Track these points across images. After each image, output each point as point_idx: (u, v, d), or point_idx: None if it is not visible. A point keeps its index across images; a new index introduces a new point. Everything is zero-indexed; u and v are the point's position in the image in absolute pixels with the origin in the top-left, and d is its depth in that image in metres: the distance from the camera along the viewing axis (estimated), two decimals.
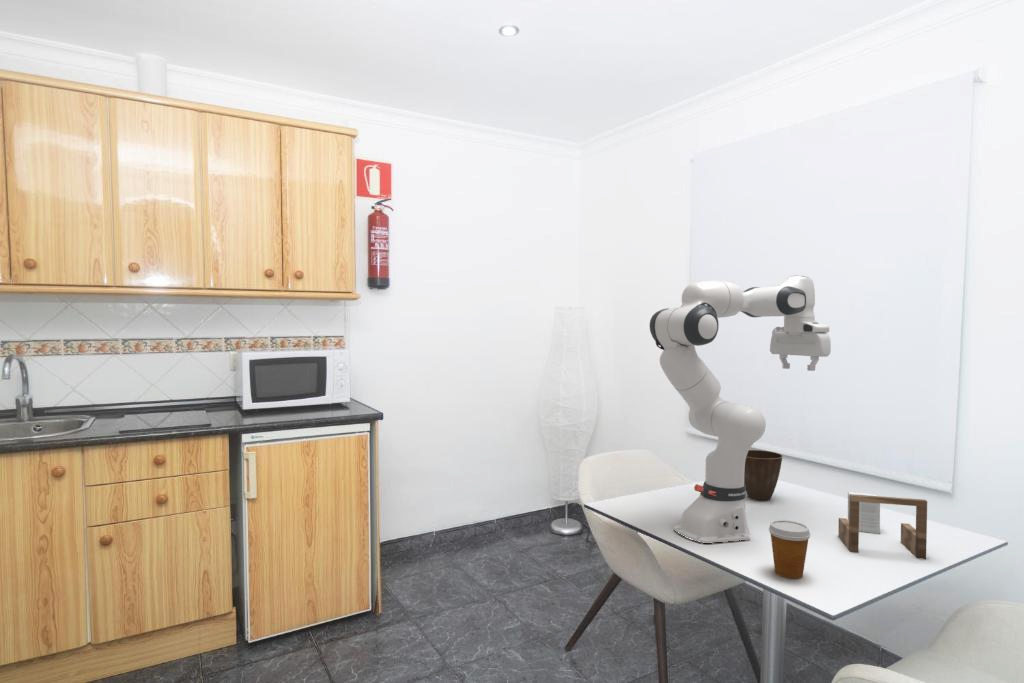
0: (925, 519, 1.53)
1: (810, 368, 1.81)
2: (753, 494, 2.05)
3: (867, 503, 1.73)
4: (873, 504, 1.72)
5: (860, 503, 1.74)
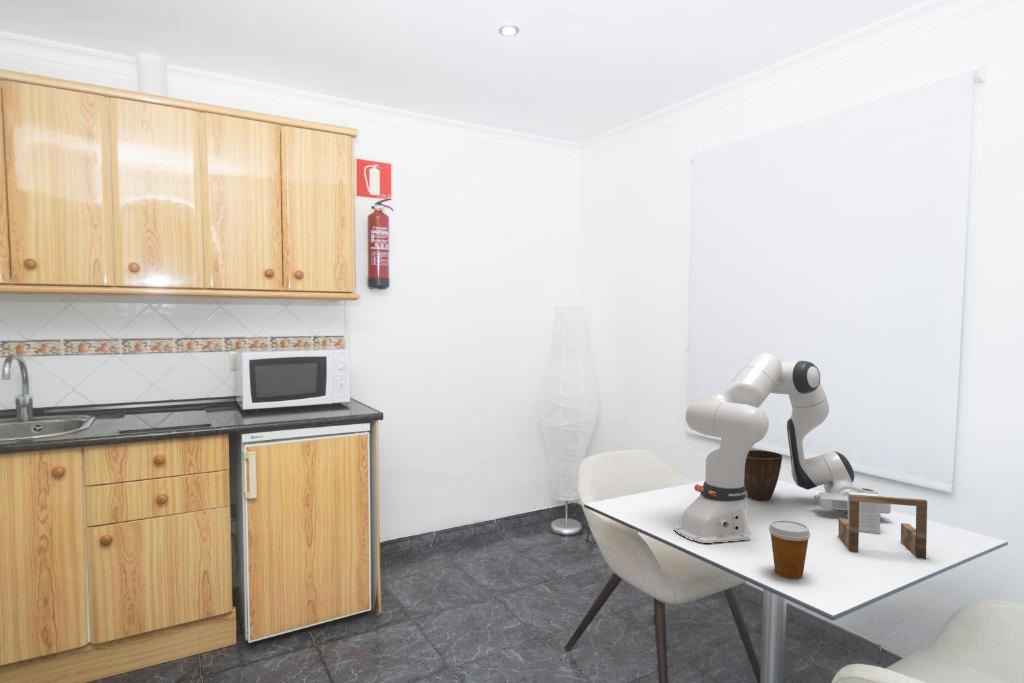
0: (925, 519, 1.53)
1: None
2: (753, 494, 2.05)
3: (867, 503, 1.73)
4: (873, 504, 1.72)
5: (860, 503, 1.74)
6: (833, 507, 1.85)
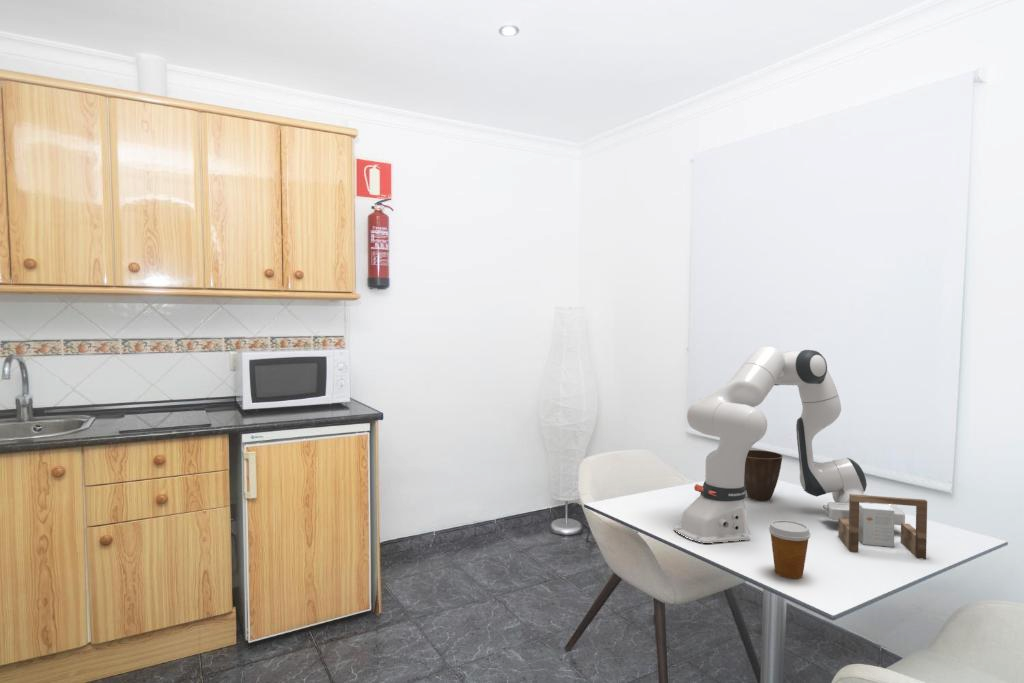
0: (925, 519, 1.53)
1: None
2: (753, 494, 2.05)
3: (881, 515, 1.62)
4: (887, 516, 1.62)
5: (874, 515, 1.63)
6: None
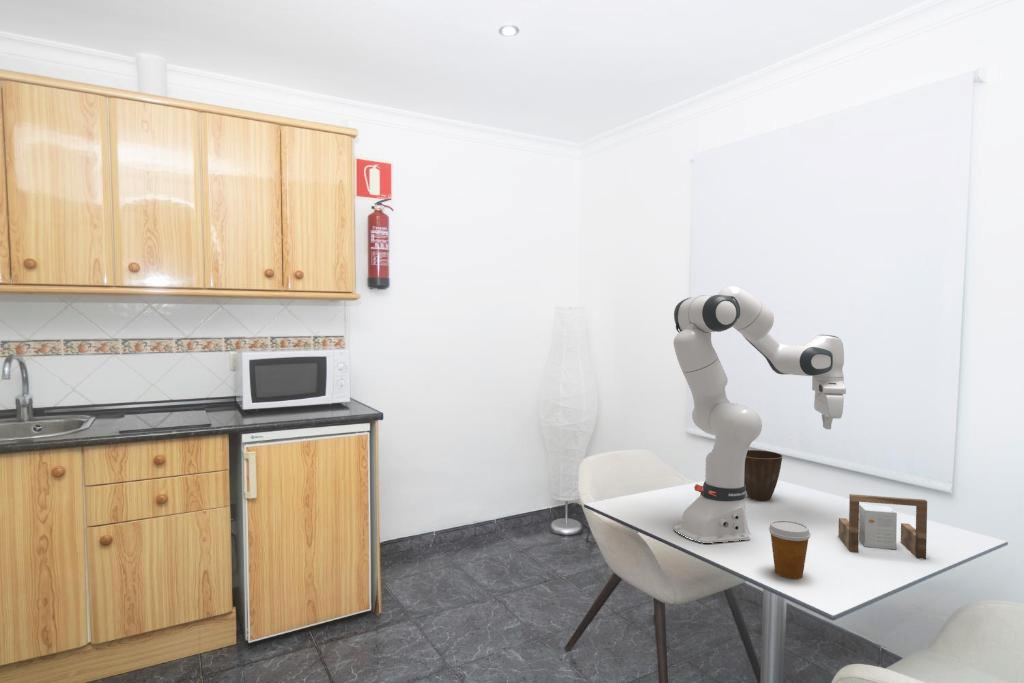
0: (925, 519, 1.53)
1: (824, 426, 1.84)
2: (753, 494, 2.05)
3: (883, 517, 1.61)
4: (889, 518, 1.60)
5: (876, 517, 1.61)
6: None
